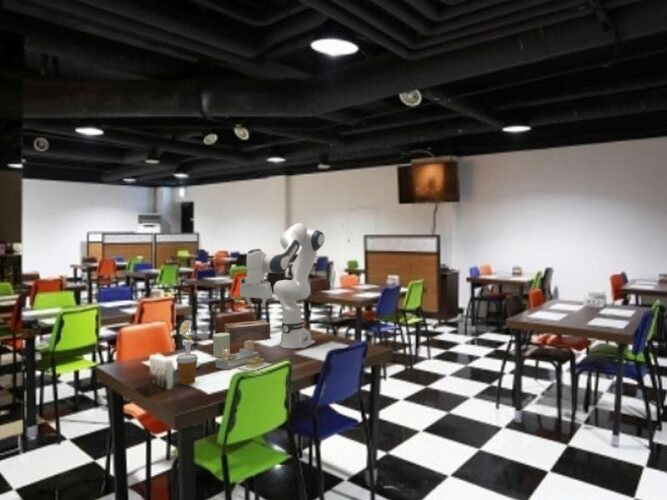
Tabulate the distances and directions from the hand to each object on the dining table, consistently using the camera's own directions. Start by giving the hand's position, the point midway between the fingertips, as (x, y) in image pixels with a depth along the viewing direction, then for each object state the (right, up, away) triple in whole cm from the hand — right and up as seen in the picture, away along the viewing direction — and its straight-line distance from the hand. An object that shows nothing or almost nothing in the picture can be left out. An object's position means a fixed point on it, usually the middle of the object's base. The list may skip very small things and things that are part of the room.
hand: (256, 306), depth 245 cm
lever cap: (+1, -28, -12) cm, 31 cm away
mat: (+1, -29, -12) cm, 31 cm away
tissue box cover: (-14, -28, +51) cm, 60 cm away
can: (-21, -29, +12) cm, 38 cm away
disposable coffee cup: (-25, -30, -35) cm, 53 cm away
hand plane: (-9, -29, -5) cm, 31 cm away
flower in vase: (-31, -30, -13) cm, 45 cm away
